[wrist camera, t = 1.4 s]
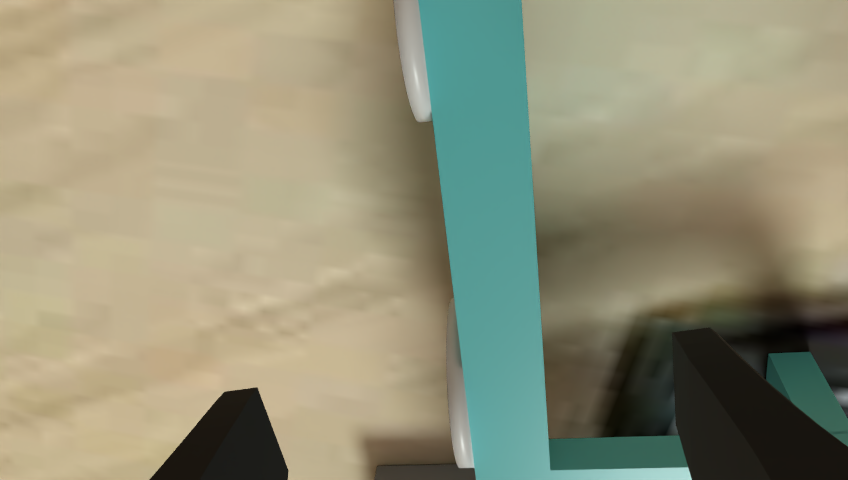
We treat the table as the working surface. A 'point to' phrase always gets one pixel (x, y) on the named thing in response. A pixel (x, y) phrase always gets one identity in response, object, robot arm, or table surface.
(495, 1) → the teal angled bar frame
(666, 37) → the table surface
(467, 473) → the display stand
